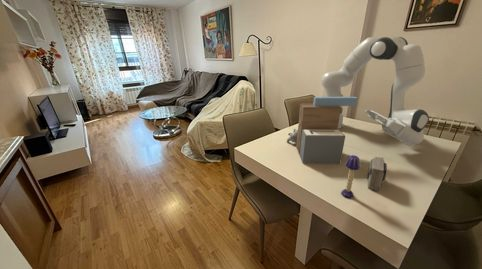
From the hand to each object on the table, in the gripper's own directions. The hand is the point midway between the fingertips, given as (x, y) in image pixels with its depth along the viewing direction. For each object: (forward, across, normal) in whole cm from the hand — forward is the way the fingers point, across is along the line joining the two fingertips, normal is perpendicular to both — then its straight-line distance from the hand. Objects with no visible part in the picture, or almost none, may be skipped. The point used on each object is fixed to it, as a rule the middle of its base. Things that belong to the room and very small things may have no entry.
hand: (371, 113), depth 100 cm
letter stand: (+11, +10, +32) cm, 35 cm away
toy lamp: (+9, +37, +30) cm, 49 cm away
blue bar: (+18, 0, +6) cm, 19 cm away
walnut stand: (+11, 0, +32) cm, 34 cm away
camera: (-4, +29, +23) cm, 37 cm away
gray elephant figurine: (+18, -12, +36) cm, 42 cm away
